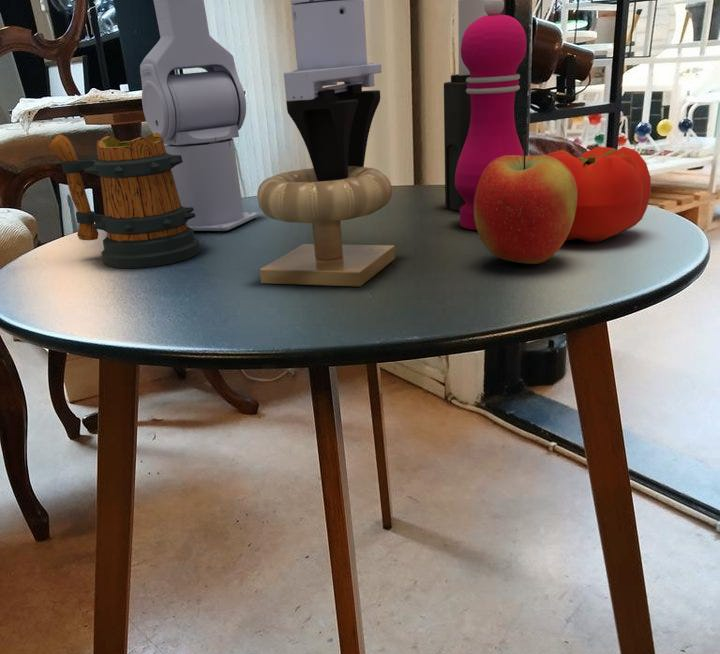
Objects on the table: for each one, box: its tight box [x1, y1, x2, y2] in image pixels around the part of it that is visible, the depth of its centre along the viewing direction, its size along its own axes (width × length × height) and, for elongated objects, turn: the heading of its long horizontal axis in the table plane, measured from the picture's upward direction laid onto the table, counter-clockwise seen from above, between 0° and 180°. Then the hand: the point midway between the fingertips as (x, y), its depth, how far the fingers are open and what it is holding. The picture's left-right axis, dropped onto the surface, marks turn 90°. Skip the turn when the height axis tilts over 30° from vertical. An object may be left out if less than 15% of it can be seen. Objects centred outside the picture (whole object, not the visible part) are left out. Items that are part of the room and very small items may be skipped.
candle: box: [443, 0, 487, 213], centre depth 81 cm, size 5×5×25 cm
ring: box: [256, 166, 393, 224], centre depth 64 cm, size 11×11×3 cm
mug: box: [47, 132, 201, 269], centre depth 74 cm, size 13×10×12 cm
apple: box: [474, 134, 577, 265], centre depth 62 cm, size 8×8×10 cm
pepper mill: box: [455, 0, 528, 231], centre depth 74 cm, size 7×7×20 cm
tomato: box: [546, 146, 652, 243], centre depth 70 cm, size 11×11×8 cm
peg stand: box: [259, 220, 396, 288], centre depth 65 cm, size 9×9×7 cm
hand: (341, 186), depth 67 cm, fingers closed on ring, 3 cm apart
